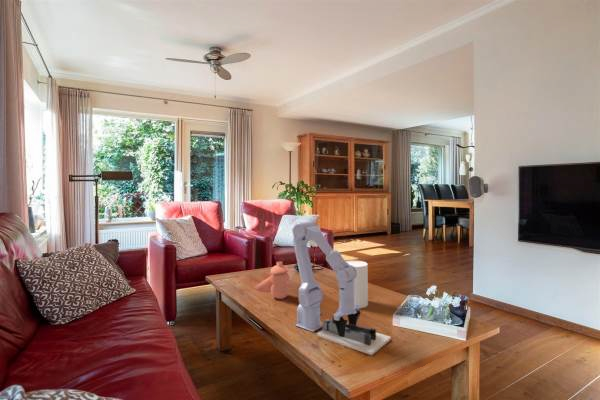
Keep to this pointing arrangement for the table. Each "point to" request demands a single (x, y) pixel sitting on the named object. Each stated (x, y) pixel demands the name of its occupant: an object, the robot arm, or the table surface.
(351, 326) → the tongs arm
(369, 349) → the cutting board
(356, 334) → the tongs base
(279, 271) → the ceramic vessels
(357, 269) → the canister
